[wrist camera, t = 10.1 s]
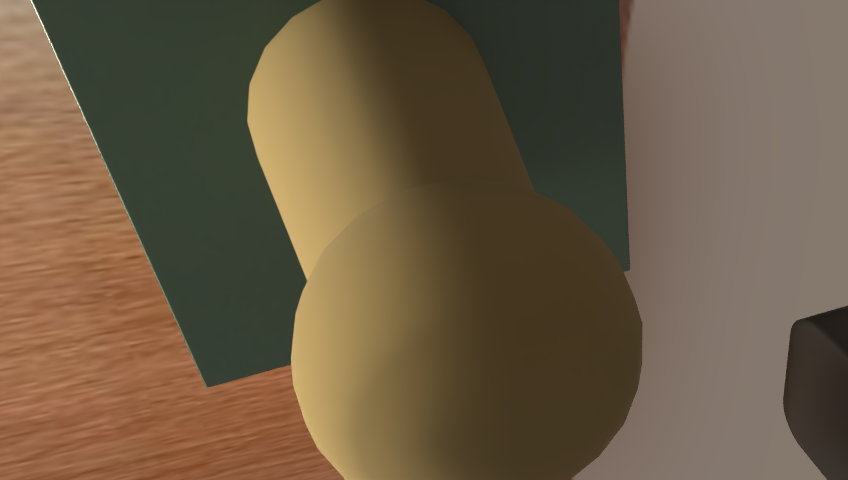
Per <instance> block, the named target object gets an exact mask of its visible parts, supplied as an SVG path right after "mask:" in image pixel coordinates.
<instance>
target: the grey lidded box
mask: <svg viewBox="0 0 848 480" xmlns="http://www.w3.org/2000/svg"><path fill="white" fill-rule="evenodd" d="M319 1H321V0H31V2H32V5H33V7H34V9H35V11H36V13H37V16H38V18H39V20H40V22H41V25H42V27H43V29H44V31H45V33H46V36H47V38H48V40H49V42H50V44H51V47H52V49H53V51H54V53H55V55H56V58H57V60H58V62H59V64H60V66H61V69H62V71H63V73H64V75H65V77H66V80H67V82H68V84H69V86H70V88H71V91H72V93H73V95H74V97H75V100H76V102H77V104H78V106H79V108H80V111H81V113H82V115H83V117H84V119H85V122H86V124H87V126H88V128H89V130H90V133H91V135H92V137H93V139H94V141H95V144H96V146H97V148H98V150H99V152H100V155H101V157H102V159H103V161H104V163H105V166H106V168H107V170H108V172H109V175H110V177H111V179H112V181H113V183H114V186H115V188H116V190H117V192H118V194H119V197H120V199H121V201H122V203H123V205H124V208H125V210H126V212H127V214H128V216H129V219H130V221H131V223H132V225H133V227H134V230H135V232H136V234H137V236H138V238H139V241H140V243H141V245H142V247H143V250H144V252H145V254H146V256H147V258H148V261H149V263H150V265H151V267H152V269H153V272H154V274H155V276H156V278H157V280H158V283H159V285H160V287H161V289H162V291H163V294H164V296H165V298H166V300H167V302H168V305H169V307H170V309H171V311H172V313H173V316H174V318H175V320H176V322H177V325H178V327H179V329H180V331H181V333H182V336H183V338H184V340H185V342H186V344H187V347H188V349H189V351H190V353H191V355H192V358H193V360H194V362H195V364H196V366H197V369H198V371H199V373H200V375H201V377H202V380H203V382H204V384H205V386H206V387H211V386H215V385H218V384H222V383H226V382H229V381H233V380H236V379H240V378H244V377H247V376H251V375H254V374H258V373H262V372H265V371H269V370H272V369H276V368H280V367H283V366H287V365H290V364H291V353H292V343H293V333H294V324H295V314H296V311H297V307H298V304H299V301H300V298H301V294H302V291H303V289H304V287H305V285H306V283H307V279H306V277H305V274H304V272H303V269H302V267H301V264H300V262H299V259H298V257H297V254H296V252H295V249H294V247H293V244H292V242H291V239H290V237H289V234H288V232H287V229H286V227H285V224H284V222H283V219H282V217H281V214H280V212H279V209H278V207H277V204H276V202H275V199H274V197H273V194H272V192H271V189H270V187H269V184H268V182H267V179H266V177H265V174H264V172H263V169H262V167H261V164H260V162H259V159H258V157H257V154H256V150H255V147H254V143H253V140H252V136H251V133H250V130H249V126H248V123H247V116H248V100H249V84H250V82H251V79H252V77H253V74H254V72H255V70H256V67H257V65H258V63H259V60H260V58H261V55H262V53H263V51H264V48H265V47H266V46H267V45H268V44H269V42H270V41H271V40H272V39H273V38H274V37H275V36H276V35H277V33H278V32H279V31H280V30H281V29H282V28H283V27H284V26H285V25H286V23H287V22H288V21H289V20H290V19H291V18H292V17H293V16H295V15H297V14H299V13H300V12H302V11H304V10H306V9H307V8H309V7H311V6H312V5H314V4H316V3H318V2H319ZM426 1H428V2H430V3H432V4H434V5H436V6H438V7H440V8H442V9H444V10H446V11H447V12H448V13H449V14H450V15H451V16H452V17H453V18H454V19H455V20H456V21H457V22H458V23H459V24H460V25H461V26H462V27H463V28H464V29H465V30H466V31H467V32H468V33H469V34H470V35H471V36H472V39H473V41H474V43H475V45H476V47H477V49H478V51H479V53H480V55H481V58H482V60H483V62H484V64H485V66H486V68H487V71H488V73H489V76H490V78H491V81H492V83H493V86H494V89H495V91H496V94H497V96H498V99H499V101H500V104H501V107H502V109H503V112H504V114H505V117H506V119H507V122H508V124H509V127H510V130H511V132H512V135H513V137H514V140H515V142H516V145H517V148H518V150H519V153H520V155H521V158H522V160H523V163H524V166H525V168H526V171H527V173H528V176H529V178H530V181H531V184H532V186H533V189H534V191H535V192H537V193H539V194H542V195H544V196H547V197H549V198H551V199H553V200H554V201H556V202H558V203H560V204H561V205H563V206H565V207H567V208H568V209H570V210H571V211H572V212H573V213H574V214H575V215H576V216H577V217H578V218H579V219H580V220H582V221H583V222H584V223H585V224H586V225H587V226H588V227H589V228H590V229H591V230H592V231H593V232H594V233H596V234H597V235H598V236H599V237H600V238H601V239H602V240H603V242H604V243H605V244H606V245H607V247H608V248H609V249H610V250H611V252H612V253H613V254H614V255H615V257H616V258H617V259H618V261H619V263H620V266H621V268H622V270H623V272H624V271H628V270H630V260H629V237H628V236H629V234H628V211H627V188H626V163H625V139H624V115H623V91H622V67H621V43H620V19H619V0H426Z"/></svg>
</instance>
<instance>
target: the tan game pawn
mask: <svg viewBox="0 0 848 480" xmlns="http://www.w3.org/2000/svg"><path fill="white" fill-rule="evenodd" d="M247 123H248V126H249V130H250V133H251V136H252V140H253V143H254V147H255V150H256V154H257V157H258V159H259V162H260V164H261V167H262V169H263V172H264V174H265V177H266V179H267V182H268V184H269V187H270V189H271V192H272V194H273V197H274V199H275V202H276V204H277V207H278V209H279V212H280V214H281V217H282V219H283V222H284V224H285V227H286V229H287V232H288V234H289V237H290V239H291V242H292V244H293V247H294V249H295V252H296V254H297V257H298V259H299V262H300V264H301V267H302V269H303V272H304V274H305V277H306V279H307V283H306V285H305V287H304V289H303V291H302V294H301V298H300V301H299V304H298V307H297V311H296V314H295V324H294V333H293V343H292V353H291V365H292V377H293V386H294V389H295V392H296V395H297V398H298V401H299V405H300V408H301V411H302V414H303V417H304V420H305V423H306V426H307V428H308V430H309V432H310V434H311V436H312V438H313V440H314V442H315V444H316V446H317V448H318V449H319V450H320V452H321V453H322V454H323V455H324V456H325V457H326V458H327V459H328V460H329V462H330V463H331V464H332V465H333V466H334V467H335V468H336V469H337V471H338V472H339V473H340V474H341V475H342V476H343V477H344V478H345V479H346V480H570V479H571V478H572V477H574V476H575V475H576V474H577V473H579V472H580V471H581V470H582V469H584V468H585V467H586V466H587V465H589V464H590V463H591V462H592V461H594V460H595V459H596V458H597V457H599V455H600V454H601V453H602V452H603V450H604V449H605V448H606V446H607V445H608V444H609V442H610V441H611V440H612V439H613V437H614V436H615V435H616V433H617V432H618V431H619V430H620V428H621V427H622V426H623V424H624V422H625V420H626V417H627V415H628V412H629V409H630V407H631V404H632V402H633V399H634V397H635V394H636V391H637V389H638V384H639V378H640V372H641V366H642V321H641V318H640V315H639V311H638V308H637V305H636V301H635V298H634V296H633V293H632V291H631V289H630V286H629V284H628V282H627V279H626V277H625V275H624V273H623V270H622V268H621V266H620V263H619V261H618V259H617V258H616V257H615V255H614V254H613V253H612V252H611V250H610V249H609V248H608V247H607V245H606V244H605V243H604V242H603V240H602V239H601V238H600V237H599V236H598V235H597V234H596V233H594V232H593V231H592V230H591V229H590V228H589V227H588V226H587V225H586V224H585V223H584V222H583V221H582V220H580V219H579V218H578V217H577V216H576V215H575V214H574V213H573V212H572V211H571V210H570V209H568V208H567V207H565V206H563V205H561V204H560V203H558V202H556V201H554V200H553V199H551V198H549V197H547V196H544V195H542V194H539V193H537V192H535V191H534V189H533V186H532V184H531V181H530V178H529V176H528V173H527V171H526V168H525V166H524V163H523V160H522V158H521V155H520V153H519V150H518V148H517V145H516V142H515V140H514V137H513V135H512V132H511V130H510V127H509V124H508V122H507V119H506V117H505V114H504V112H503V109H502V107H501V104H500V101H499V99H498V96H497V94H496V91H495V89H494V86H493V83H492V81H491V78H490V76H489V73H488V71H487V68H486V66H485V64H484V62H483V60H482V58H481V55H480V53H479V51H478V49H477V47H476V45H475V43H474V41H473V39H472V36H471V35H470V34H469V33H468V32H467V31H466V30H465V29H464V28H463V27H462V26H461V25H460V24H459V23H458V22H457V21H456V20H455V19H454V18H453V17H452V16H451V15H450V14H449V13H448V12H447V11H446V10H444V9H442V8H440V7H438V6H436V5H434V4H432V3H430V2H428V1H426V0H321V1H319V2H318V3H316V4H314V5H312V6H311V7H309V8H307V9H306V10H304V11H302V12H300V13H299V14H297V15H295V16H293V17H292V18H291V19H290V20H289V21H288V22H287V23H286V25H285V26H284V27H283V28H282V29H281V30H280V31H279V32H278V33H277V35H276V36H275V37H274V38H273V39H272V40H271V41H270V42H269V44H268V45H267V46H266V47H265V48H264V51H263V53H262V55H261V58H260V60H259V63H258V65H257V67H256V70H255V72H254V74H253V77H252V79H251V82H250V84H249V100H248V116H247Z"/></svg>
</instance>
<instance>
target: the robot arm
mask: <svg viewBox="0 0 848 480" xmlns="http://www.w3.org/2000/svg"><path fill="white" fill-rule="evenodd" d="M783 404H784V412H785V416H786V420H787V422H788V425H789V427H790V430H791V432H792V434H793V436H794V438H795V439H796V441H797V442H798V444H799V445H800V446H801V448H802V449H803V450H804V452H805V453H806V454H807V455H808V457H809V458H810V459H811V460H812V461H813V463H814V464H815V465H816V466H817V467H818V469H819V470H820V471H821V473H822V474H823V475H824V476H825V477H826V478H827V480H848V306H845V307H841V308H838V309H835V310H831V311H827V312H824V313H821V314H817V315H814V316H810V317H807V318H803V319H800V320H797V321H796V322H795V323H794V324H793V326H792V328H791V333H790V342H789V352H788V360H787V370H786V379H785V388H784V397H783Z"/></svg>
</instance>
